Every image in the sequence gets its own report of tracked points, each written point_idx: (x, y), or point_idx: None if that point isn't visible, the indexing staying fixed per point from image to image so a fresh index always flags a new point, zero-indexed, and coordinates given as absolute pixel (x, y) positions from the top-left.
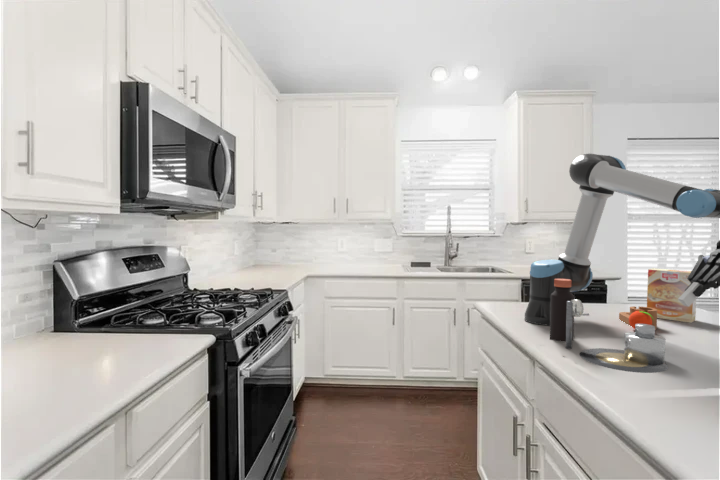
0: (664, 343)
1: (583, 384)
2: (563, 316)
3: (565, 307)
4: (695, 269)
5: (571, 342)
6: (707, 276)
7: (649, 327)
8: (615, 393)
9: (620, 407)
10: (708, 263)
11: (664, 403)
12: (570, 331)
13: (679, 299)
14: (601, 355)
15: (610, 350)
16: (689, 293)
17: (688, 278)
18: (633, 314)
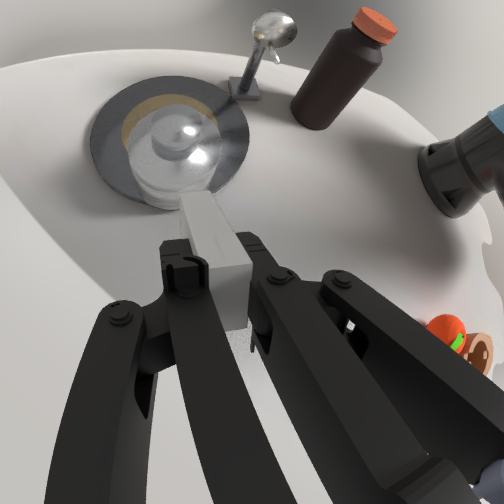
0: (135, 172)
1: (94, 55)
2: (315, 65)
3: (323, 52)
4: (421, 350)
5: (243, 77)
6: (198, 346)
7: (152, 119)
8: (59, 74)
9: (31, 69)
10: (415, 474)
11: (18, 111)
12: (249, 59)
13: (201, 193)
14: (197, 108)
15: (234, 142)
16: (186, 219)
17: (341, 275)
18: (454, 319)
